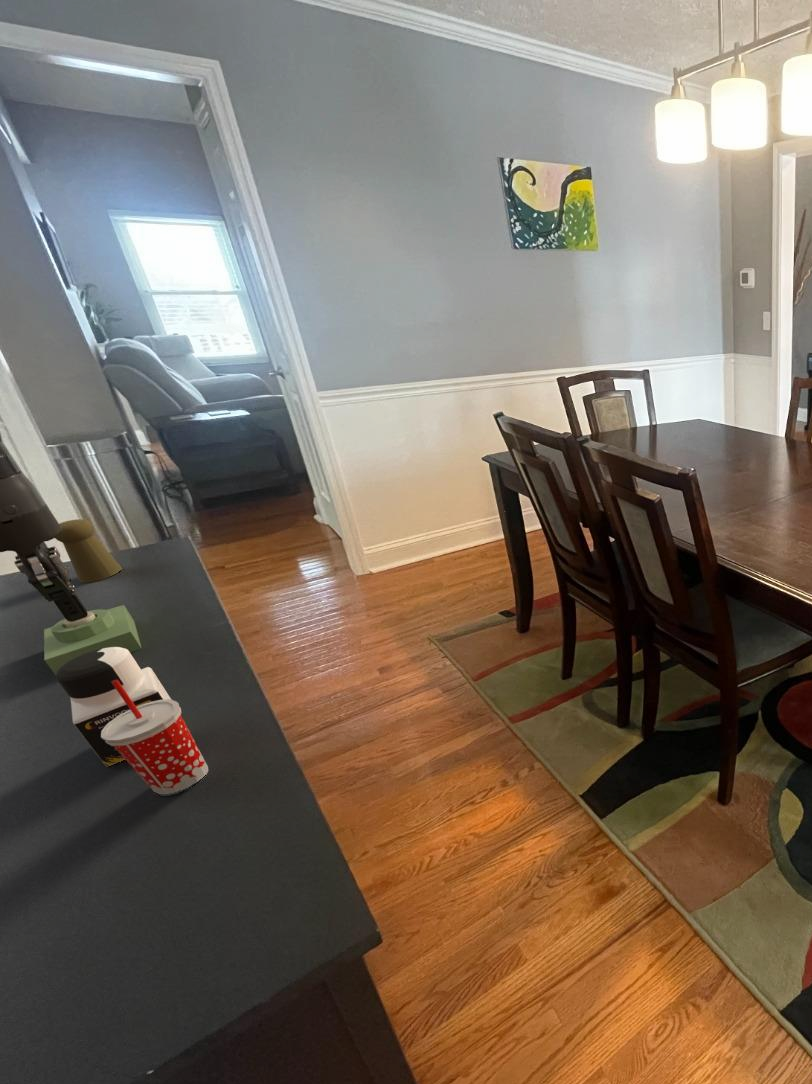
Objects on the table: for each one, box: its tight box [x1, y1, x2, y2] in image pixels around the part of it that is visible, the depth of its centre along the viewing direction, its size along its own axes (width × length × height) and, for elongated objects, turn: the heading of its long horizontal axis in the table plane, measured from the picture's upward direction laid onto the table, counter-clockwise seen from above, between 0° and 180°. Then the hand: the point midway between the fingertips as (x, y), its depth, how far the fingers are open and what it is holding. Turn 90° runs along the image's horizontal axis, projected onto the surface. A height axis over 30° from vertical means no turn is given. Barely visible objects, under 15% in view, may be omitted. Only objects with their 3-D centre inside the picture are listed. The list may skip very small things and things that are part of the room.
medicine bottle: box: [55, 647, 172, 768], centre depth 70 cm, size 7×7×12 cm
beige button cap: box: [63, 612, 96, 628], centre depth 89 cm, size 3×3×2 cm
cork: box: [54, 518, 123, 584], centre depth 110 cm, size 6×6×11 cm
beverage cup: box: [101, 680, 209, 794], centre depth 63 cm, size 6×6×14 cm
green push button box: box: [43, 604, 143, 676], centre depth 90 cm, size 12×9×5 cm
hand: (78, 617), depth 88 cm, fingers closed
